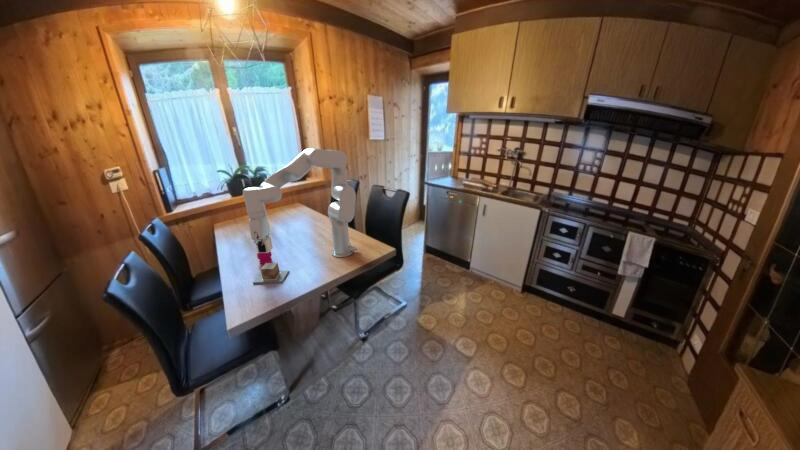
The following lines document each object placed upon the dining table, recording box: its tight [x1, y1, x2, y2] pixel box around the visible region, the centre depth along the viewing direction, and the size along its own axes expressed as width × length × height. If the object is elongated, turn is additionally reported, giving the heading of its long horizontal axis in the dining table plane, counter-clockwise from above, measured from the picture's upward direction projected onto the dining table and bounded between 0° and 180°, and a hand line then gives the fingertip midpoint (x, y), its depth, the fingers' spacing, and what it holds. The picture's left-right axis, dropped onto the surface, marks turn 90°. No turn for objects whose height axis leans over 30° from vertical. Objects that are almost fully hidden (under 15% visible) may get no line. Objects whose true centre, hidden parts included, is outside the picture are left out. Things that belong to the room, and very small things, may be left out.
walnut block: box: [260, 262, 281, 280], centre depth 133 cm, size 6×6×6 cm
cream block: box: [255, 236, 274, 253], centre depth 127 cm, size 5×5×6 cm
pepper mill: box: [256, 237, 273, 266], centre depth 146 cm, size 7×7×20 cm
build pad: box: [252, 270, 290, 285], centre depth 134 cm, size 14×10×1 cm
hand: (265, 249), depth 128 cm, fingers closed on cream block, 5 cm apart
